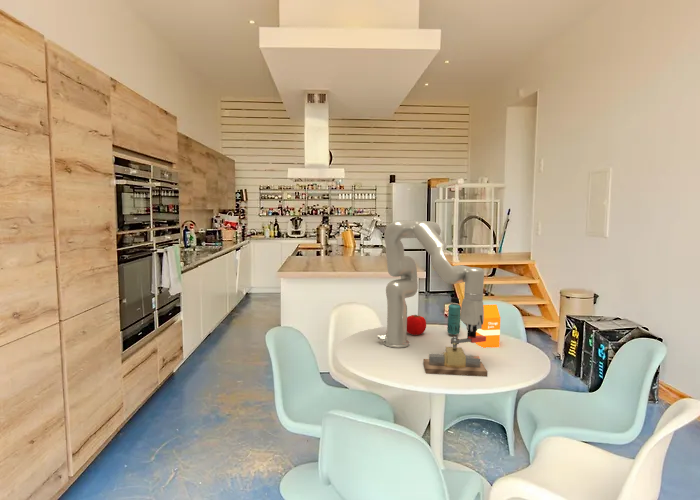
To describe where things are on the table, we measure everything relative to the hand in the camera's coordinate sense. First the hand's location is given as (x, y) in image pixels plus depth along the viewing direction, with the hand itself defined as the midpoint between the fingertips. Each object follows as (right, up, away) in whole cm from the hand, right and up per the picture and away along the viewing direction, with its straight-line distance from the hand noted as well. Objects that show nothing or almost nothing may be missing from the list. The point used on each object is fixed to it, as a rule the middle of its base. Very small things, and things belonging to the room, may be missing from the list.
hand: (471, 339), depth 186 cm
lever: (-3, 0, -5) cm, 5 cm away
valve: (-9, -9, -6) cm, 14 cm away
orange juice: (+15, -9, +29) cm, 34 cm away
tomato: (-17, -7, +47) cm, 50 cm away
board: (-9, -11, -6) cm, 15 cm away
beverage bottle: (+3, -7, +45) cm, 46 cm away
